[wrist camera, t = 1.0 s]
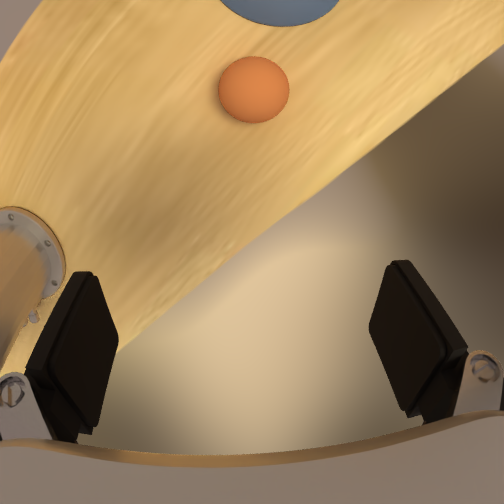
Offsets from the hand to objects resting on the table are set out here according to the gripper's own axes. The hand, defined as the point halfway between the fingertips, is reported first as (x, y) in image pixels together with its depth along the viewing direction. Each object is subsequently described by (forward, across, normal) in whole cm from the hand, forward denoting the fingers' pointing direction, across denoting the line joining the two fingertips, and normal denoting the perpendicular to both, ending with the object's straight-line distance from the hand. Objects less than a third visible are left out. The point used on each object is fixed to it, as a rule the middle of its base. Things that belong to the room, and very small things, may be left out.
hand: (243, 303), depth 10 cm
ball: (+18, -2, -5) cm, 19 cm away
